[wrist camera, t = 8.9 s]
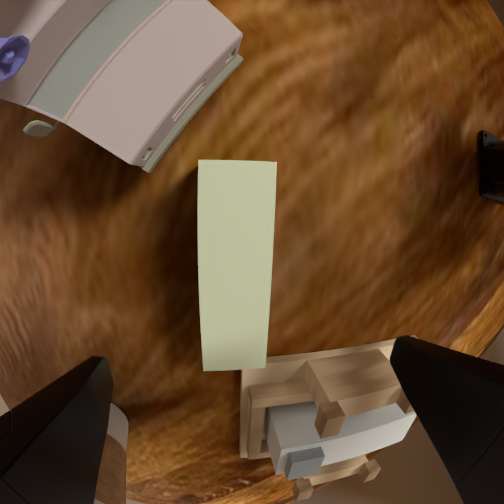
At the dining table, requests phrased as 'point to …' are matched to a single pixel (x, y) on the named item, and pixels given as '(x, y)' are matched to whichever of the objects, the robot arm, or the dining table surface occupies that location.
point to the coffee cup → (113, 461)
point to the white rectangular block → (332, 448)
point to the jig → (320, 400)
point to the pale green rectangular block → (235, 261)
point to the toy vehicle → (116, 67)
